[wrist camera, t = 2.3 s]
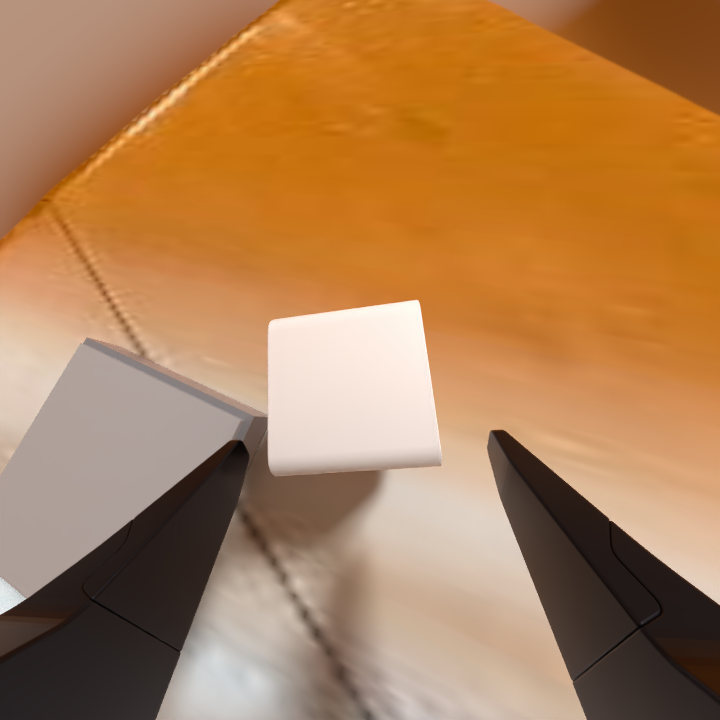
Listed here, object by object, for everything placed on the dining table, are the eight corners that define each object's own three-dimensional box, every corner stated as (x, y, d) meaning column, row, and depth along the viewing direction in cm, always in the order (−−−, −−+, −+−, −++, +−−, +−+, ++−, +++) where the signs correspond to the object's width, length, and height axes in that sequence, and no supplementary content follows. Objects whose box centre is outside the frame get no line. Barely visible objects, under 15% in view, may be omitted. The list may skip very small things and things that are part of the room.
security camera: (328, 365, 21) (265, 314, 11) (421, 354, 20) (441, 289, 10) (333, 452, 19) (265, 481, 10) (434, 445, 18) (471, 468, 9)
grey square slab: (166, 647, 18) (120, 690, 15) (11, 530, 21) (-50, 546, 18) (271, 417, 20) (250, 416, 17) (118, 346, 24) (79, 335, 21)
